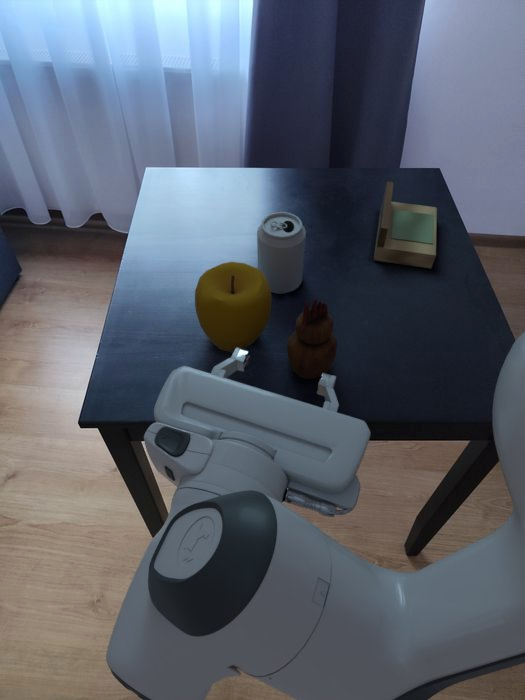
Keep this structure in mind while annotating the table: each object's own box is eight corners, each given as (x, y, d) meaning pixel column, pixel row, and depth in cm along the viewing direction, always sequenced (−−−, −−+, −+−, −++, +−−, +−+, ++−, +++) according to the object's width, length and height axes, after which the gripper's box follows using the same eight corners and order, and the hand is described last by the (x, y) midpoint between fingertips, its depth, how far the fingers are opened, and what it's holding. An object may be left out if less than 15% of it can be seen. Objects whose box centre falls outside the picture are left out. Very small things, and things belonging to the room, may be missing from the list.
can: (302, 297, 79) (307, 238, 69) (257, 296, 79) (256, 238, 69) (301, 266, 83) (305, 208, 74) (258, 266, 84) (257, 207, 74)
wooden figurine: (293, 389, 67) (298, 318, 56) (281, 358, 71) (284, 284, 59) (338, 378, 68) (352, 306, 57) (324, 348, 72) (335, 274, 60)
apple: (250, 377, 69) (247, 317, 59) (186, 351, 72) (173, 290, 62) (282, 326, 75) (285, 264, 65) (222, 304, 78) (216, 241, 68)
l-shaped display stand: (432, 220, 91) (443, 188, 86) (431, 268, 83) (443, 236, 77) (379, 213, 93) (387, 181, 87) (373, 260, 84) (380, 227, 79)
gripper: (357, 511, 37) (390, 375, 45) (126, 430, 41) (194, 319, 50) (346, 536, 42) (378, 410, 50) (141, 462, 46) (201, 356, 54)
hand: (285, 364), depth 50 cm, fingers open, 8 cm apart
